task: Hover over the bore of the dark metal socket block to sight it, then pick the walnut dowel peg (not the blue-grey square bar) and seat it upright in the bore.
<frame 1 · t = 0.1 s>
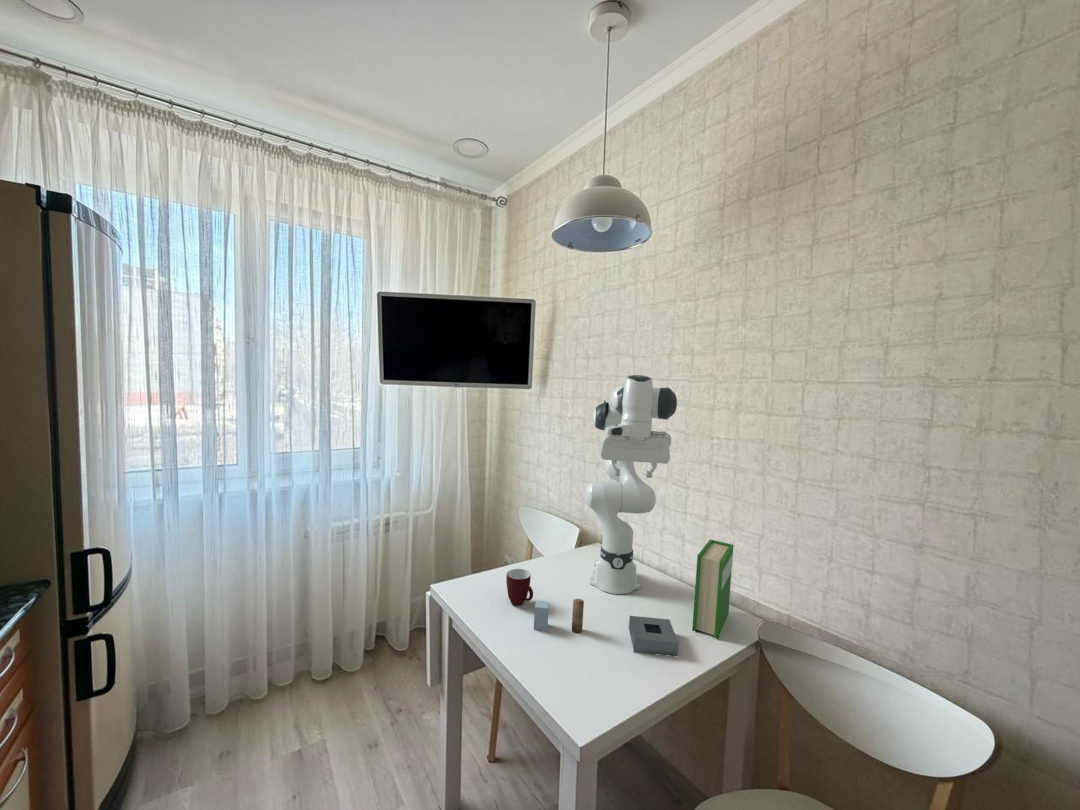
hand: (633, 476, 127), 48 cm above the table, fingers open, 8 cm apart
square peg: (540, 626, 131), on the table
round peg: (576, 630, 130), on the table
mug: (520, 604, 143), on the table
hardback book: (710, 623, 138), on the table
socket: (651, 641, 126), on the table
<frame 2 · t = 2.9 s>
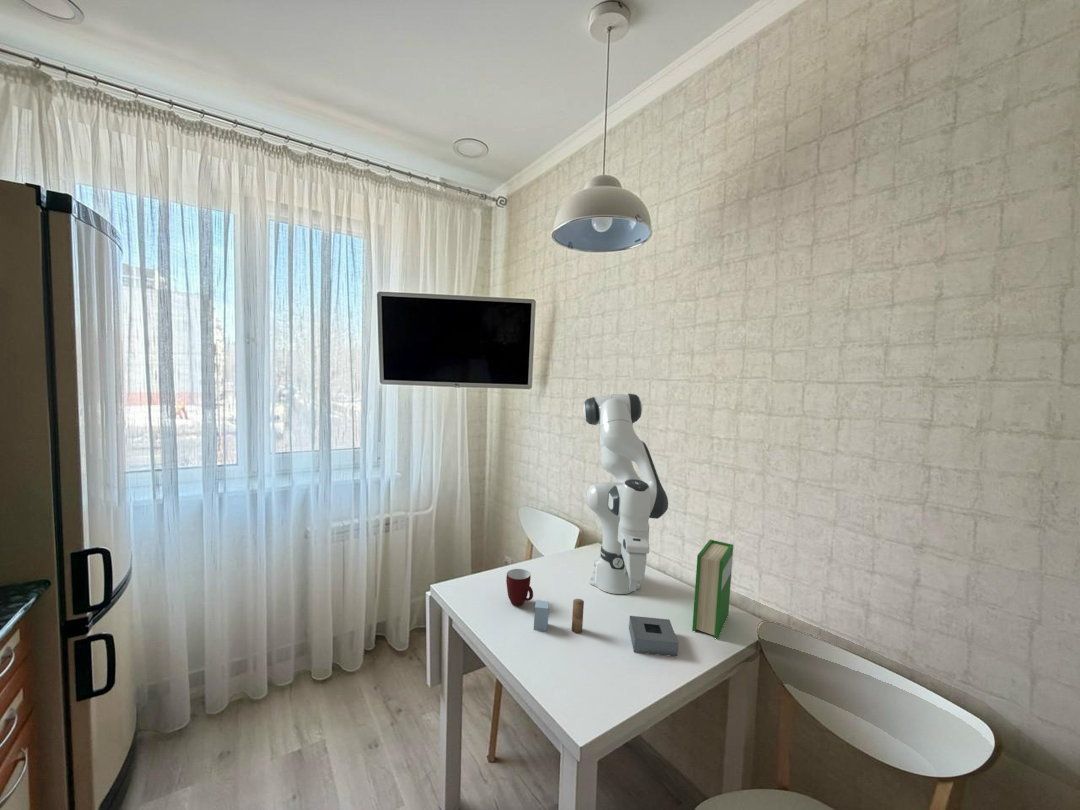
hand: (630, 582, 126), 17 cm above the table, fingers open, 8 cm apart
nothing on the table moved.
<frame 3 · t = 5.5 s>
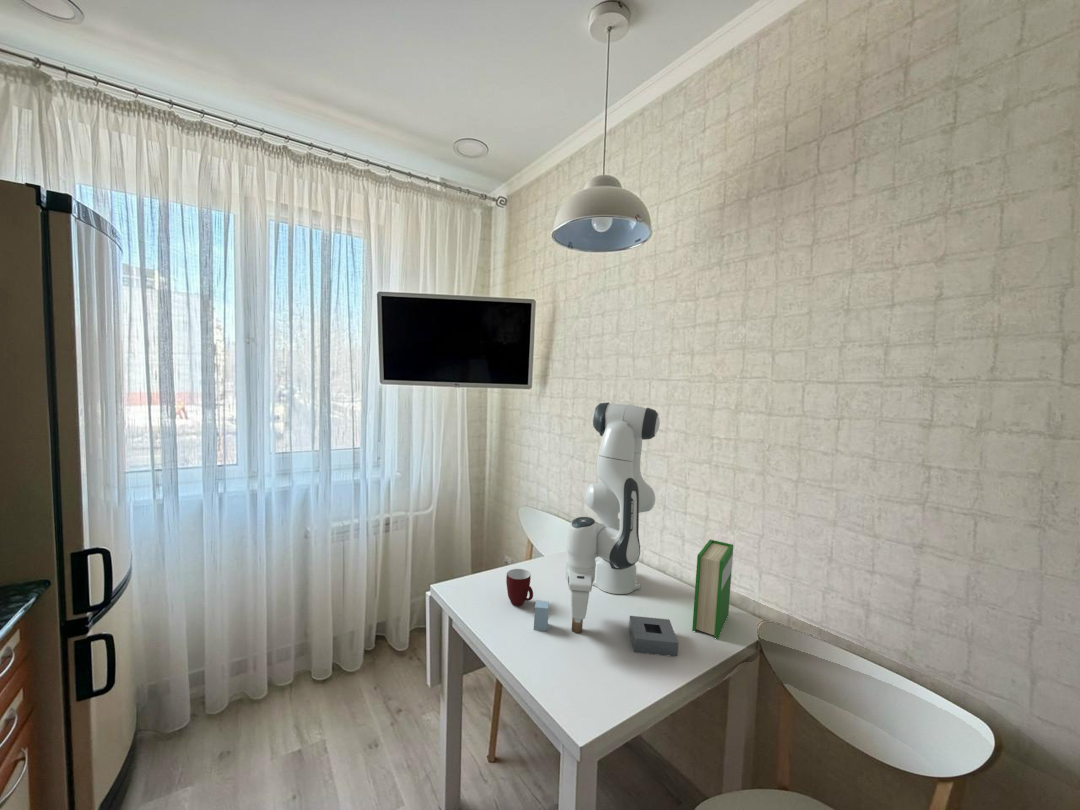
hand: (577, 617, 130), 4 cm above the table, fingers closed on round peg, 3 cm apart
round peg: (576, 630, 130), on the table, touching gripper
everything else where it was.
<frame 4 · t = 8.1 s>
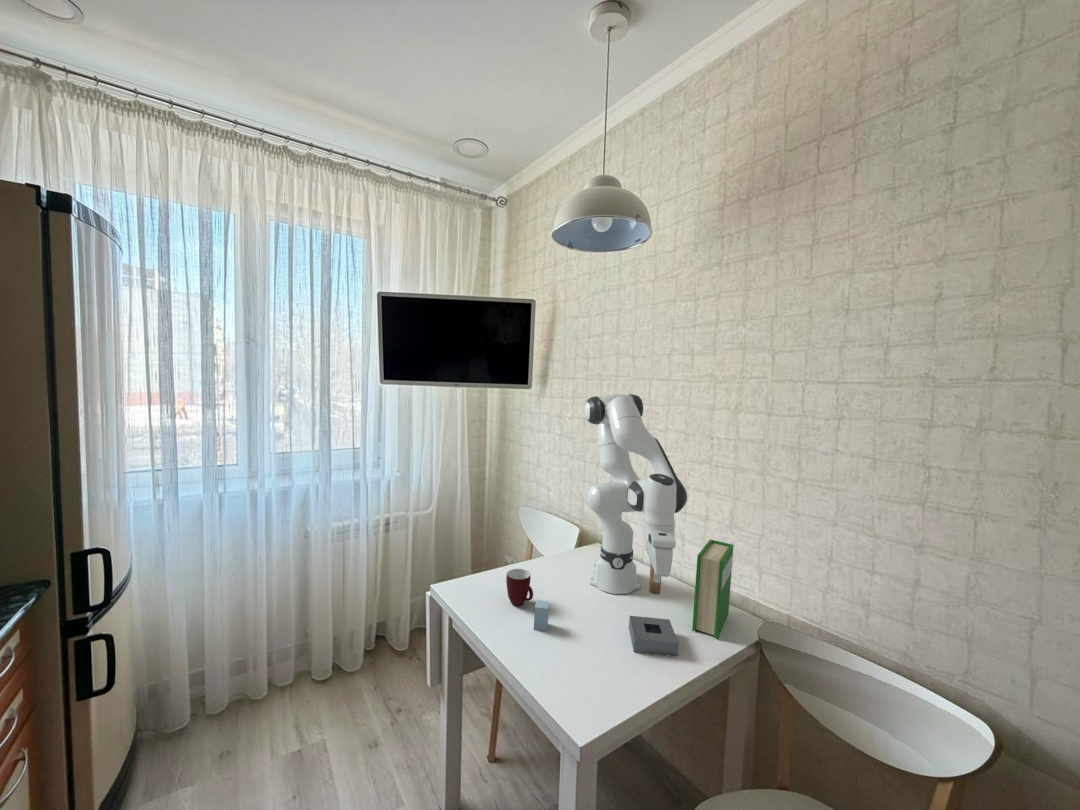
hand: (655, 578, 125), 19 cm above the table, fingers closed on round peg, 3 cm apart
round peg: (654, 591, 125), point 15 cm above the table, touching gripper
everything else where it was.
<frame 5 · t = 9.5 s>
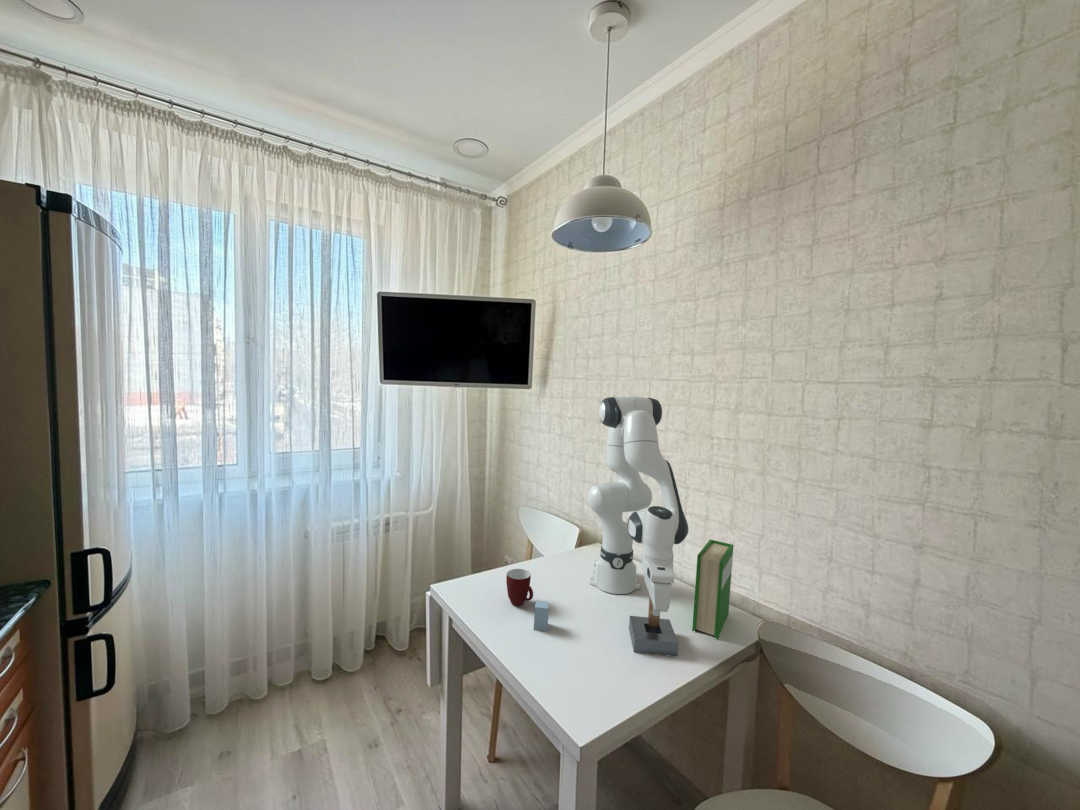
hand: (654, 610, 125), 9 cm above the table, fingers closed on round peg, 3 cm apart
round peg: (653, 624, 125), point 5 cm above the table, touching gripper
everything else where it was.
when the fingers open (6 cm above the table, at t = 10.5 s): round peg drops 2 cm, resting in socket.
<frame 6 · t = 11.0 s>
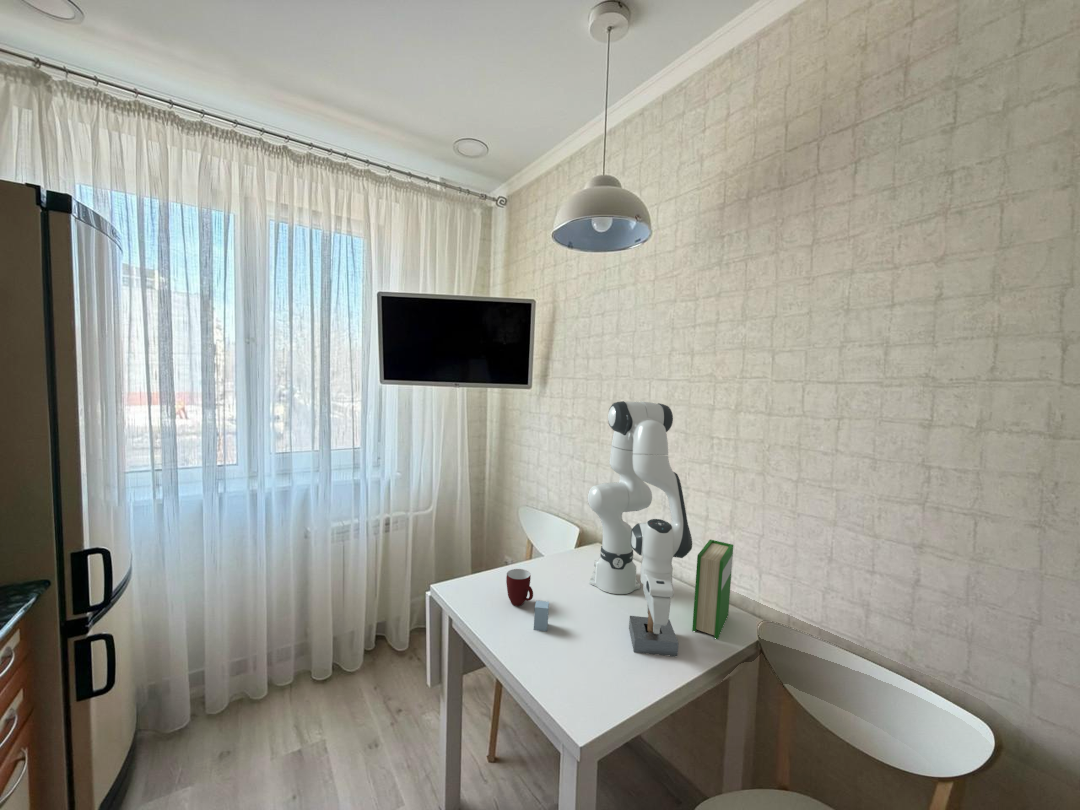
hand: (653, 623, 126), 6 cm above the table, fingers open, 8 cm apart
round peg: (652, 641, 126), resting in socket
everything else where it was.
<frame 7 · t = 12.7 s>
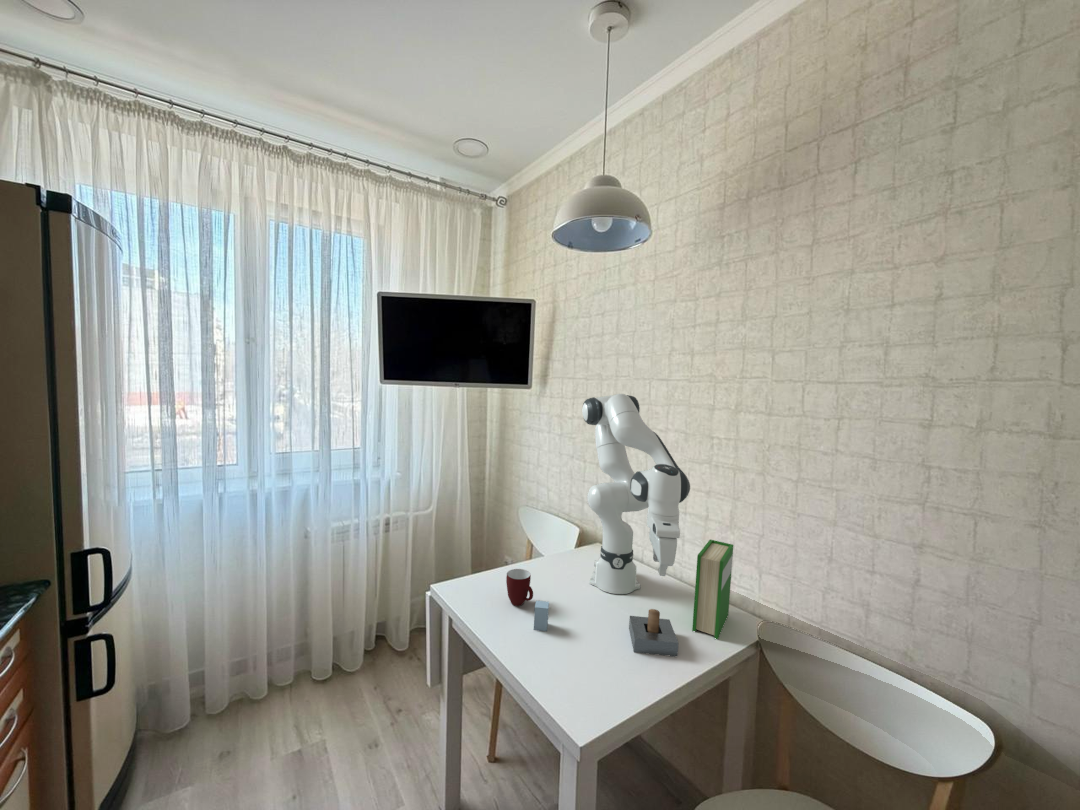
hand: (659, 567, 125), 22 cm above the table, fingers open, 8 cm apart
nothing on the table moved.
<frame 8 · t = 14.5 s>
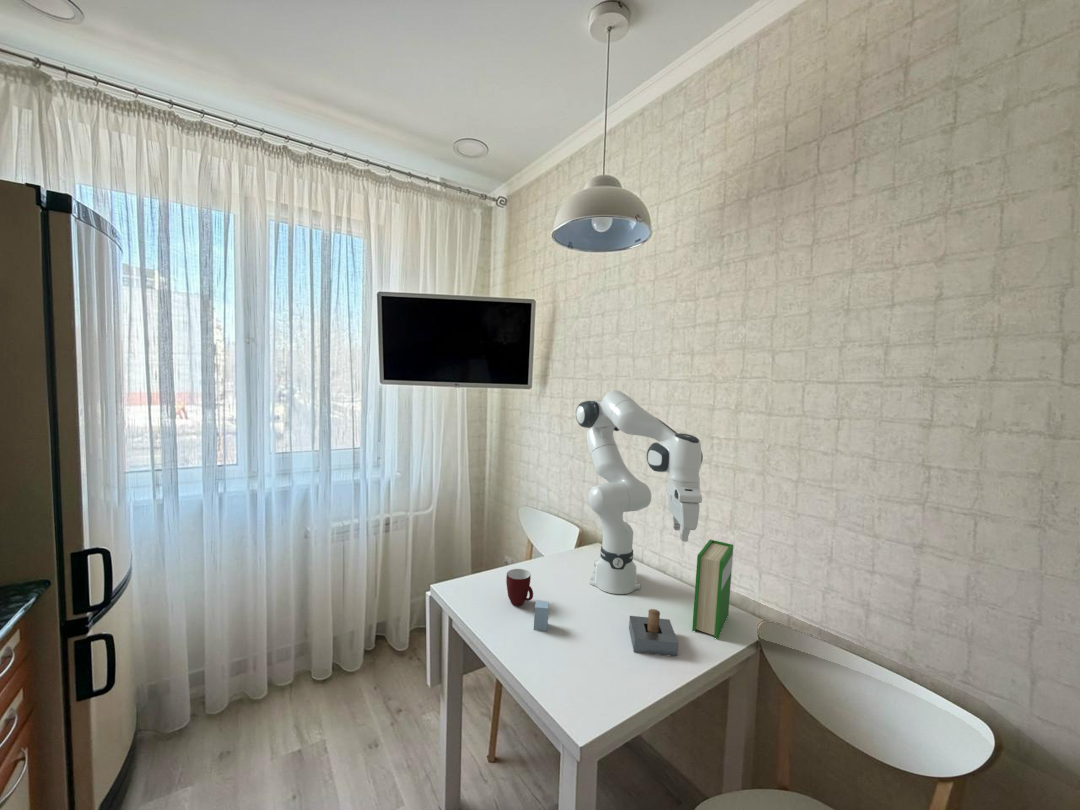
hand: (680, 535, 128), 31 cm above the table, fingers open, 8 cm apart
nothing on the table moved.
at the end: round peg 0.1 cm off-centre on the socket, point 0.0 cm above the socket's base; round peg tilted 0°; the gripper is holding nothing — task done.
